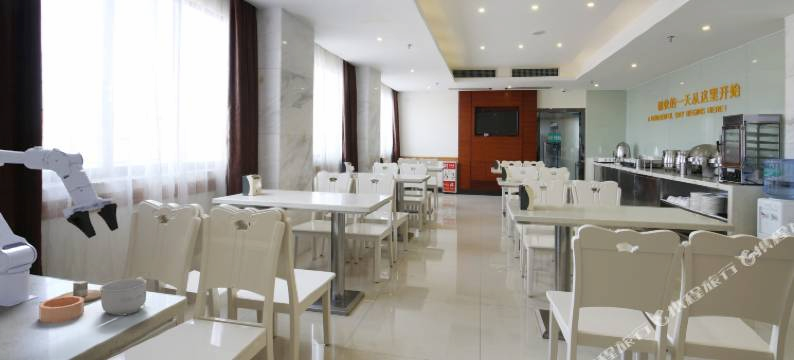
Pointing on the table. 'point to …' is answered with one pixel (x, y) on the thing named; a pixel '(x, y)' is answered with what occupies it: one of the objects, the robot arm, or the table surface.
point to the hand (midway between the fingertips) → (104, 233)
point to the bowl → (61, 309)
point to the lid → (83, 292)
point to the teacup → (123, 296)
